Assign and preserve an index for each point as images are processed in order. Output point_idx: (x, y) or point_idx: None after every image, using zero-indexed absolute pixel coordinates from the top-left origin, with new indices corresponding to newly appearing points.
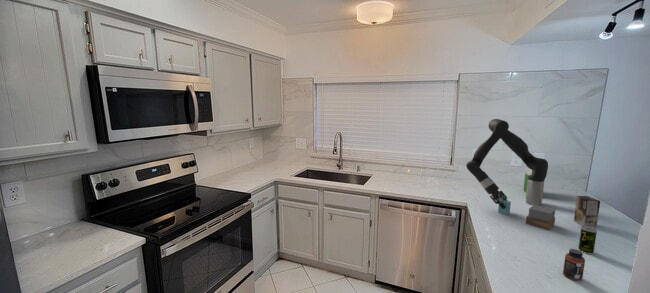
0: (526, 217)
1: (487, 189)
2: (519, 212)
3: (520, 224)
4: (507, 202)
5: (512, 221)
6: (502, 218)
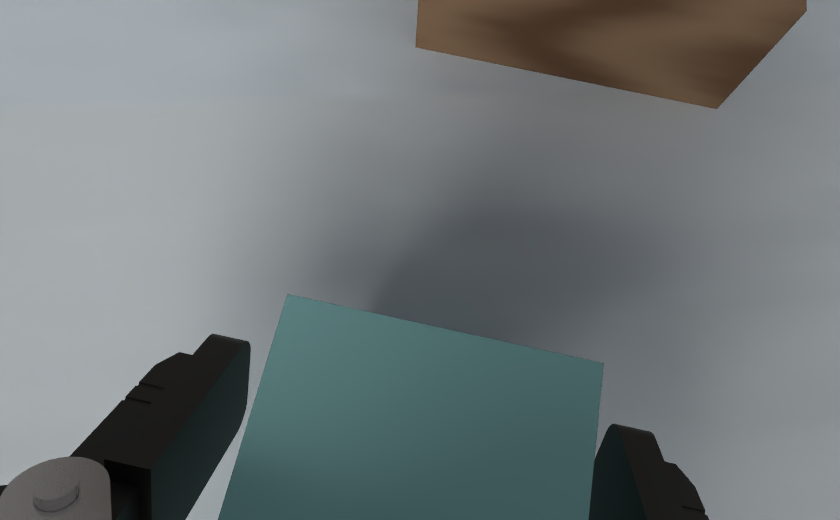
0: (793, 23)
1: None
2: (161, 220)
3: (815, 165)
4: (511, 387)
5: (785, 278)
6: (782, 455)
